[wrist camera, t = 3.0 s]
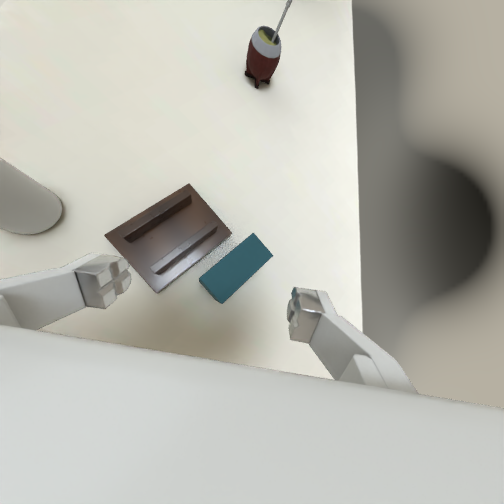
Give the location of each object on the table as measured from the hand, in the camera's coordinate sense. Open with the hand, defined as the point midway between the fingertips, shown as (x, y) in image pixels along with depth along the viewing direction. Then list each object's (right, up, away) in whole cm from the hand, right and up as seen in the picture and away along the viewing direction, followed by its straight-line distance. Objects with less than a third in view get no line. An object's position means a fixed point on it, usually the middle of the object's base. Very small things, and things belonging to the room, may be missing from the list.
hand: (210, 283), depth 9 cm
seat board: (-12, +4, +23) cm, 26 cm away
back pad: (-2, -2, +25) cm, 25 cm away
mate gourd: (+4, +44, +36) cm, 57 cm away
